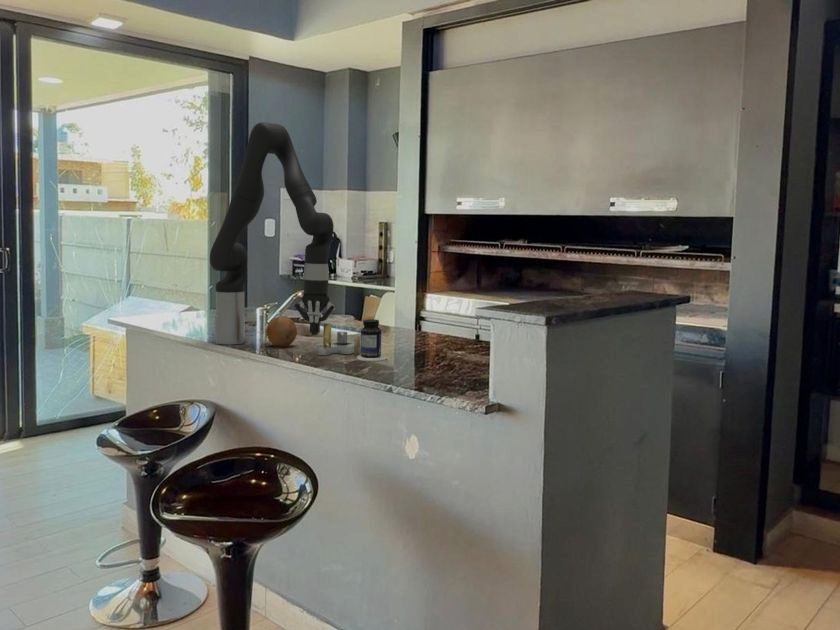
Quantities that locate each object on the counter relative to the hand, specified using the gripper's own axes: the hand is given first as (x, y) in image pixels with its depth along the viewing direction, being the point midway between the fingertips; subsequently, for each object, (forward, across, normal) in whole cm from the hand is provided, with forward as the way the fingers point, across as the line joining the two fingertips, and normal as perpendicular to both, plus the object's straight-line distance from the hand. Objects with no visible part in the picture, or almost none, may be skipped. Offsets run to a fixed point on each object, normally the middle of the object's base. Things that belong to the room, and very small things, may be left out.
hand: (314, 334), depth 236 cm
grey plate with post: (+6, +6, +6) cm, 10 cm away
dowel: (+6, +13, +1) cm, 15 cm away
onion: (+7, -15, +13) cm, 20 cm away
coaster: (+6, +19, -3) cm, 20 cm away
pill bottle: (+5, +18, -3) cm, 19 cm away
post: (+6, +6, +9) cm, 13 cm away
